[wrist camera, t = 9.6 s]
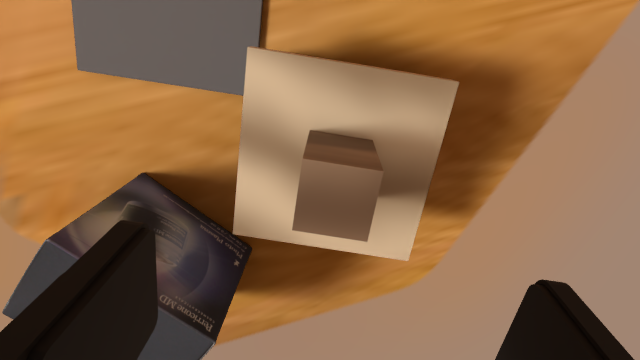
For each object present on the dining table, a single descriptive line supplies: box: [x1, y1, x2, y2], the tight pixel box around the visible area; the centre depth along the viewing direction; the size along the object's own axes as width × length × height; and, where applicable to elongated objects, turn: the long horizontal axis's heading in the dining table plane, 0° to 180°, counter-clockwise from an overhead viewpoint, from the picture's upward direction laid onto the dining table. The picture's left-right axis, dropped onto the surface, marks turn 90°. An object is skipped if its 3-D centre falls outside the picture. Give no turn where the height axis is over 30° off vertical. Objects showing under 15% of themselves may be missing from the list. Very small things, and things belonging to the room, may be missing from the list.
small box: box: [3, 173, 252, 360], centre depth 25 cm, size 11×6×10 cm, turn 52°
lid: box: [233, 46, 459, 261], centre depth 19 cm, size 11×11×6 cm
